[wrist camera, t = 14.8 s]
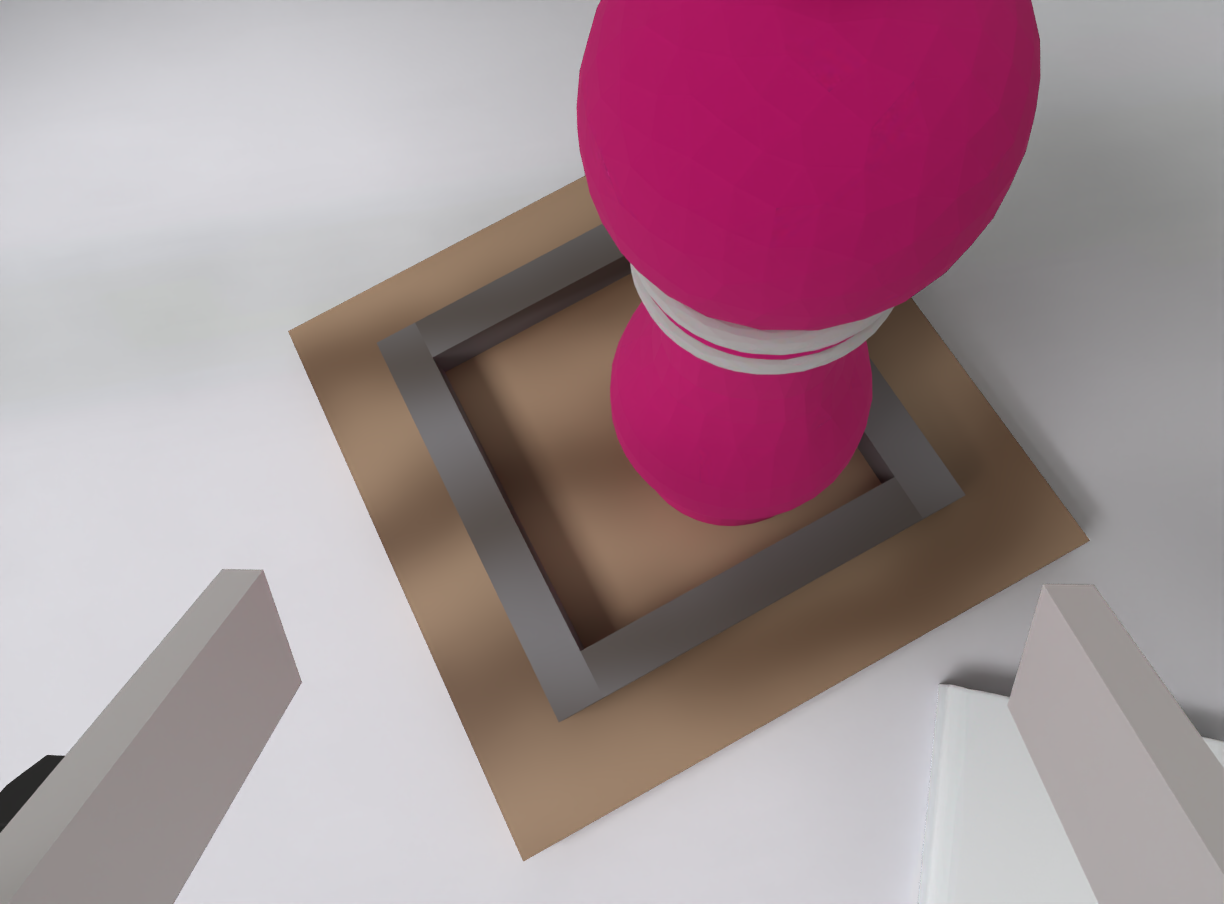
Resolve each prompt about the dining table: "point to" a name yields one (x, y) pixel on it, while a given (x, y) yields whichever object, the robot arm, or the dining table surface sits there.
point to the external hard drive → (994, 813)
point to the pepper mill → (785, 215)
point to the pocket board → (640, 520)
